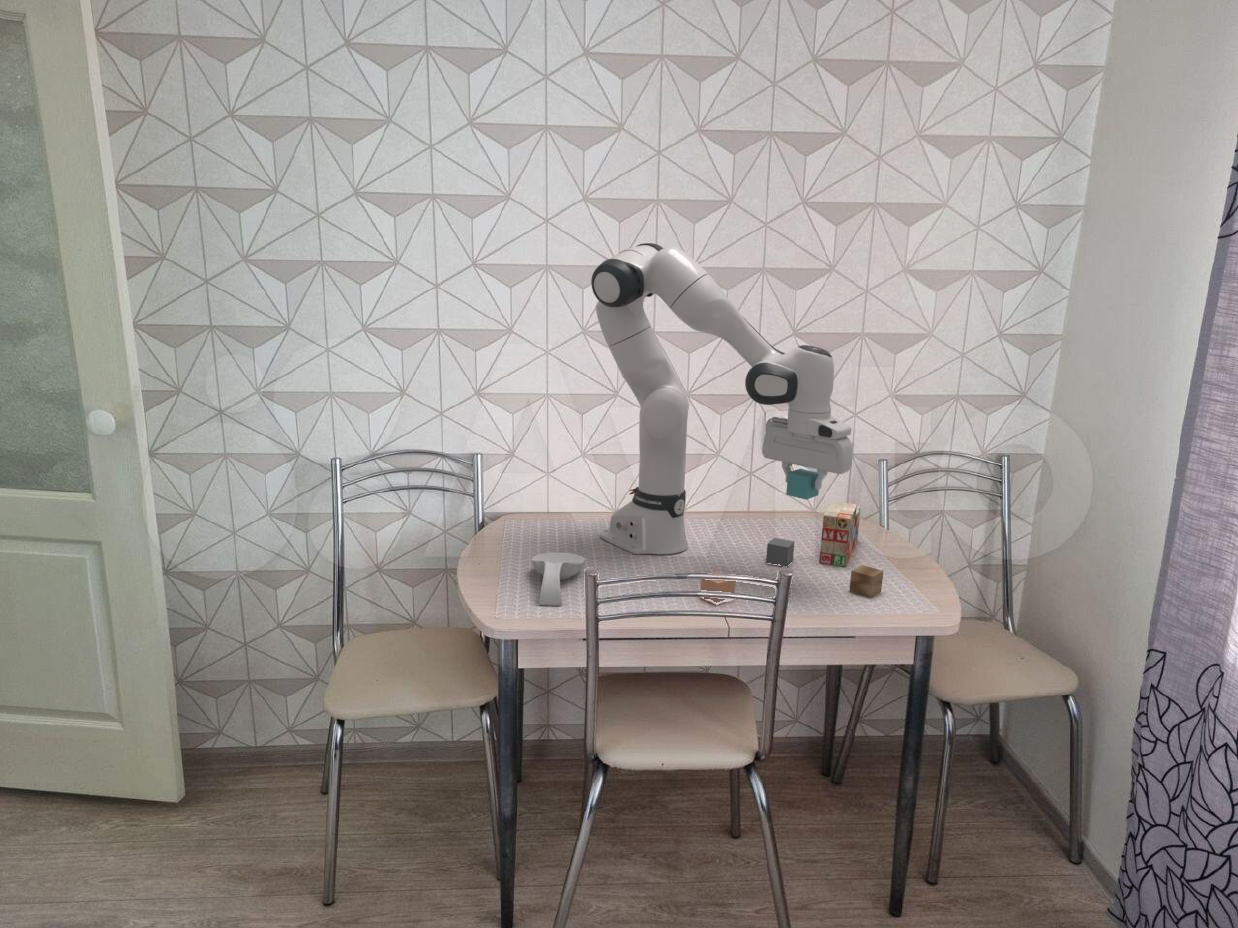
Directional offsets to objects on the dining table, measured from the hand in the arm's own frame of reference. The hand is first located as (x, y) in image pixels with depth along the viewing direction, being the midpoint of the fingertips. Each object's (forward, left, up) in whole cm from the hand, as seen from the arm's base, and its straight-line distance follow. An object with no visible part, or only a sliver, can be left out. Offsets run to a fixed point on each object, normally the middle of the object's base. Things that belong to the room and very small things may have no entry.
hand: (803, 485), depth 194 cm
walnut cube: (+14, +6, -22) cm, 27 cm away
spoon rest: (-35, -40, -23) cm, 58 cm away
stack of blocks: (-3, +25, -22) cm, 34 cm away
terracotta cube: (-6, -21, -22) cm, 31 cm away
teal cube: (0, 0, -2) cm, 2 cm away
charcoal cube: (-9, +8, -22) cm, 25 cm away
